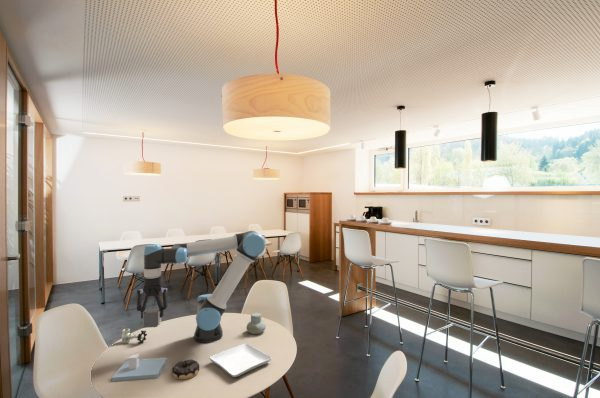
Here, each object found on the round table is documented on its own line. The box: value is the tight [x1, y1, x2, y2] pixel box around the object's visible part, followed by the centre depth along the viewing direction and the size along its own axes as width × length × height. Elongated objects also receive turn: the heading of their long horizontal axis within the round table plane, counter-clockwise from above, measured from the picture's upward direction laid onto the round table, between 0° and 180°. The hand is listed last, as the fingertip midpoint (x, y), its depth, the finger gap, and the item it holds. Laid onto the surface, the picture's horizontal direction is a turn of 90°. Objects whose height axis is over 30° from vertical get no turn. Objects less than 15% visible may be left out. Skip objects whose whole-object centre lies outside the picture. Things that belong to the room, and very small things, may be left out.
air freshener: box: [245, 312, 267, 335], centre depth 175 cm, size 11×8×10 cm
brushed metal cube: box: [142, 307, 159, 328], centre depth 148 cm, size 6×6×7 cm
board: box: [111, 353, 168, 382], centre depth 134 cm, size 18×14×6 cm
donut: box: [171, 359, 200, 380], centre depth 132 cm, size 11×12×4 cm
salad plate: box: [208, 343, 272, 378], centre depth 140 cm, size 21×21×3 cm
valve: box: [121, 328, 148, 345], centre depth 162 cm, size 7×7×12 cm
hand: (152, 324), depth 148 cm, fingers closed on brushed metal cube, 6 cm apart
